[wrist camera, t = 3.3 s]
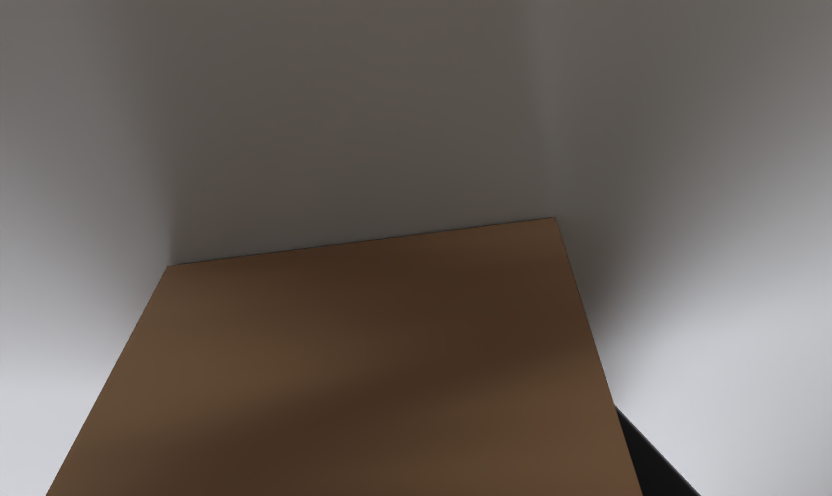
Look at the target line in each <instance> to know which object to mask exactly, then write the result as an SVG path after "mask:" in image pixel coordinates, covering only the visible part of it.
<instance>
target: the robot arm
mask: <svg viewBox="0 0 832 496" xmlns="http://www.w3.org/2000/svg"><path fill="white" fill-rule="evenodd" d="M614 406H615V405H614ZM615 409H616V412H617V415H618V419H619V422H620V425H621V428H622V431H623V435H624V438H625V441H626V444H627V447H628V450H629V454H630V457H631V460H632V463H633V466H634V469H635V473H636V476H637V479H638V482H639V485H640V489H641V492H642V495H643V496H701V495H700V494H699V493H698V492H697V491H696V490H695V489H694V488H693V487H692V486H691V485H690V484H689V483H688V482H687V481H686V480H685V479H684V478H683V476H682V475H681V474H680V473H679V472H678V471H677V470H676V469H675V468H674V467H673V466H672V465H671V464H670V463H669V462H668V461H667V460H666V459H665V458H664V456H663V455H662V454H661V453H660V452H659V451H658V450H657V449H656V448H655V447H654V446H653V445H652V444H651V443H650V442H649V441H648V440H647V439H646V437H645V436H644V435H643V434H642V433H641V432H640V431H639V430H638V429H637V428H636V427H635V426H634V425H633V424H632V423H631V422H630V421H629V420H628V418H627V417H626V416H625V415H624V414H623V413H622V412H621V411H620V410H619V409H618V408H617V407H616V406H615Z"/></svg>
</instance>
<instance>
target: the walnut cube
mask: <svg viewBox="0 0 832 496" xmlns="http://www.w3.org/2000/svg"><path fill="white" fill-rule="evenodd" d="M46 496H643V495H642V492H641V489H640V485H639V482H638V479H637V476H636V473H635V469H634V466H633V463H632V460H631V457H630V454H629V450H628V447H627V444H626V441H625V438H624V435H623V431H622V428H621V425H620V422H619V419H618V415H617V412H616V409H615V406H614V403H613V400H612V396H611V393H610V390H609V387H608V384H607V381H606V377H605V374H604V371H603V368H602V365H601V361H600V358H599V355H598V352H597V349H596V346H595V342H594V339H593V336H592V333H591V330H590V327H589V323H588V320H587V317H586V314H585V311H584V307H583V304H582V301H581V298H580V295H579V292H578V288H577V285H576V282H575V279H574V276H573V273H572V269H571V266H570V263H569V260H568V257H567V253H566V250H565V247H564V244H563V241H562V238H561V234H560V231H559V228H558V225H557V222H556V219H555V218H547V219H539V220H531V221H523V222H515V223H507V224H499V225H491V226H483V227H475V228H467V229H459V230H451V231H443V232H435V233H427V234H419V235H412V236H404V237H396V238H388V239H380V240H372V241H364V242H356V243H348V244H340V245H332V246H324V247H316V248H308V249H300V250H292V251H284V252H276V253H268V254H261V255H253V256H245V257H237V258H229V259H221V260H213V261H205V262H197V263H189V264H181V265H173V266H167V268H166V270H165V272H164V274H163V275H162V277H161V279H160V281H159V283H158V285H157V287H156V289H155V291H154V292H153V294H152V296H151V298H150V300H149V302H148V304H147V306H146V308H145V309H144V311H143V313H142V315H141V317H140V319H139V321H138V323H137V324H136V326H135V328H134V330H133V332H132V334H131V336H130V338H129V340H128V341H127V343H126V345H125V347H124V349H123V351H122V353H121V355H120V357H119V358H118V360H117V362H116V364H115V366H114V368H113V370H112V372H111V374H110V375H109V377H108V379H107V381H106V383H105V385H104V387H103V389H102V391H101V392H100V394H99V396H98V398H97V400H96V402H95V404H94V406H93V407H92V409H91V411H90V413H89V415H88V417H87V419H86V421H85V423H84V424H83V426H82V428H81V430H80V432H79V434H78V436H77V438H76V440H75V441H74V443H73V445H72V447H71V449H70V451H69V453H68V455H67V457H66V458H65V460H64V462H63V464H62V466H61V468H60V470H59V472H58V473H57V475H56V477H55V479H54V481H53V483H52V485H51V487H50V489H49V490H48V492H47V494H46Z"/></svg>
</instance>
